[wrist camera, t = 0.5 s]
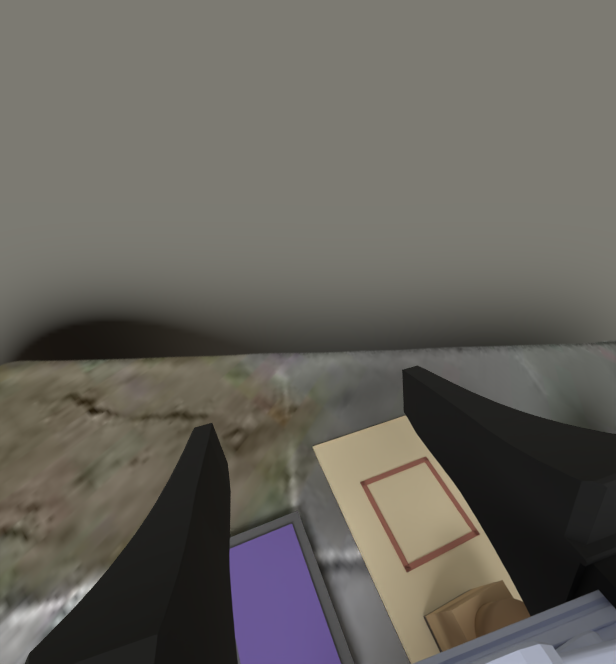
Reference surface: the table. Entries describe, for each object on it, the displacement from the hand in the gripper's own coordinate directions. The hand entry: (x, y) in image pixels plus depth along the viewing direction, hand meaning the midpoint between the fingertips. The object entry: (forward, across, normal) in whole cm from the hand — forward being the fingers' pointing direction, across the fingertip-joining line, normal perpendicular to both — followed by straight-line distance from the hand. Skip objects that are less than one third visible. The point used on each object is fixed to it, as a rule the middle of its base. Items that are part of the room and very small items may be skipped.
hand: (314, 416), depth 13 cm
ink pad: (+3, +5, +18) cm, 19 cm away
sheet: (+7, -8, +19) cm, 22 cm away
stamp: (-1, -7, +21) cm, 22 cm away
